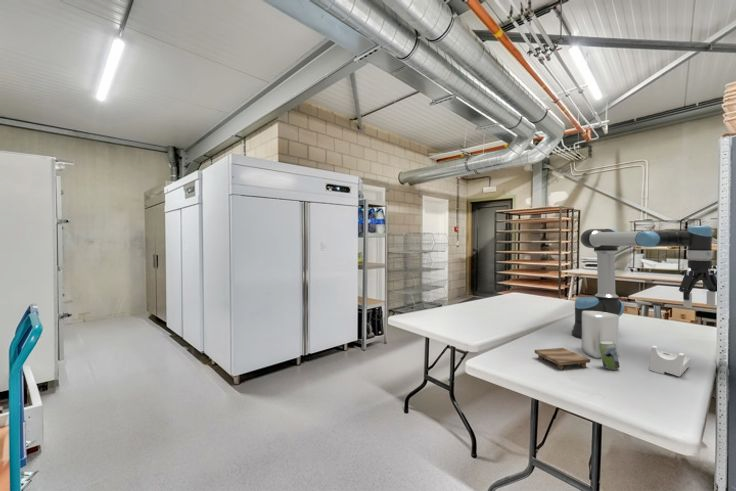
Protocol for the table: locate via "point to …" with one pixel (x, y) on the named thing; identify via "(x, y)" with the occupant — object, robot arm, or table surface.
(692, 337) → the table surface
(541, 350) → the wooden serving board
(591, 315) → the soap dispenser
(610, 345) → the beverage can
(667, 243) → the robot arm
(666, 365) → the white pipe support bracket
